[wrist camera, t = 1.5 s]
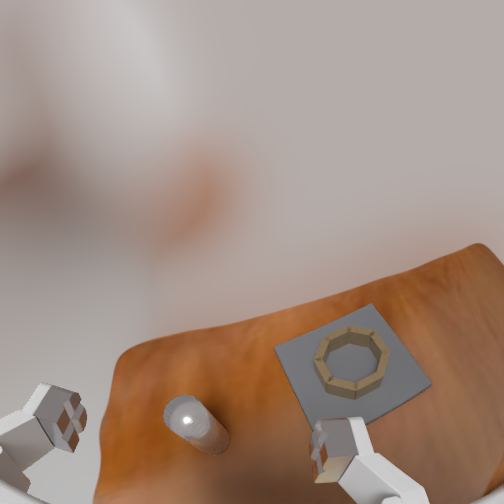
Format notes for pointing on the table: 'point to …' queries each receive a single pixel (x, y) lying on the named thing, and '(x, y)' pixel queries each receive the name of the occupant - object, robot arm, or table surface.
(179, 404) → the piston
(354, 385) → the bronze ring
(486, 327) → the table surface
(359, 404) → the base plate
